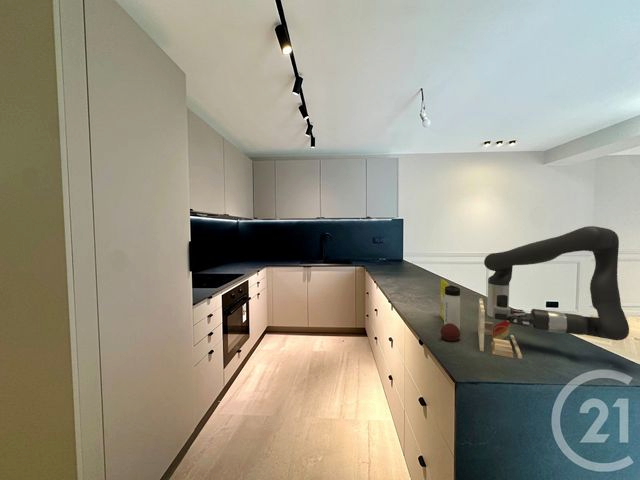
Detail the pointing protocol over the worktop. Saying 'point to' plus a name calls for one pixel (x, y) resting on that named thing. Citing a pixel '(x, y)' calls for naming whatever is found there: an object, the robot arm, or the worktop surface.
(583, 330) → the robot arm
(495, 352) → the offcut
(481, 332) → the rack
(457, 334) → the potato
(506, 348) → the offcut
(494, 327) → the lotion bottle
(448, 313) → the travel mug
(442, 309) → the food package
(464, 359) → the worktop surface
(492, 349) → the offcut
